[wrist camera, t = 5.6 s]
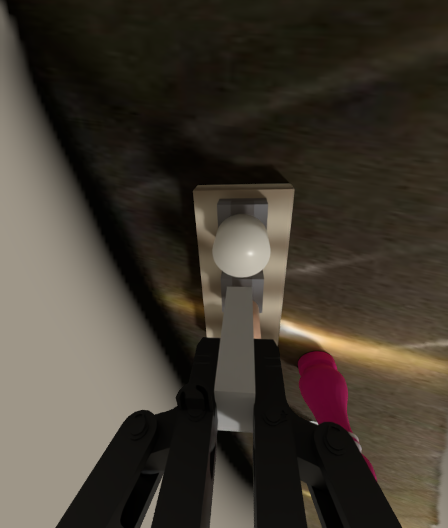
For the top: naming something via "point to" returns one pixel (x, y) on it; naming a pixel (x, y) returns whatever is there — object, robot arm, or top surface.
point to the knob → (241, 246)
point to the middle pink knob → (256, 321)
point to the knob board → (278, 229)
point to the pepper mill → (326, 391)
